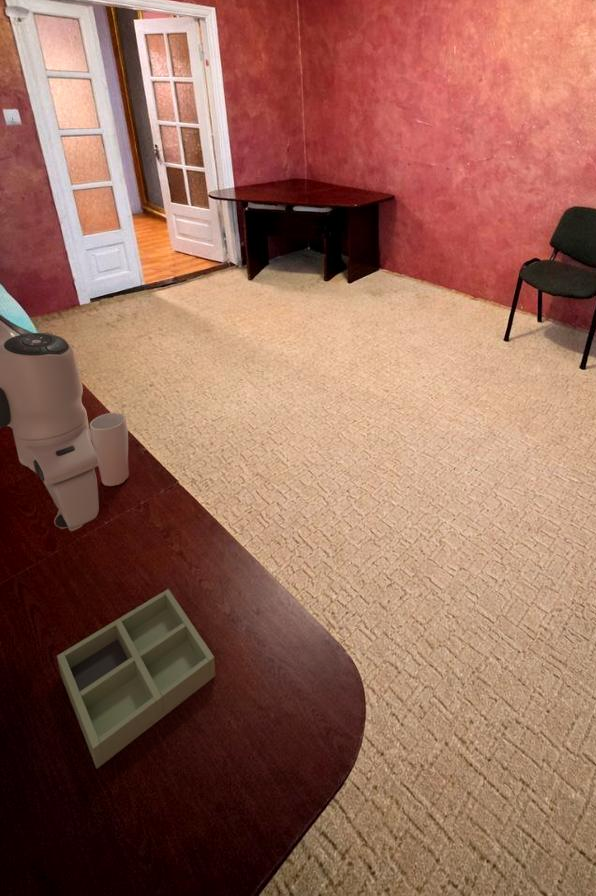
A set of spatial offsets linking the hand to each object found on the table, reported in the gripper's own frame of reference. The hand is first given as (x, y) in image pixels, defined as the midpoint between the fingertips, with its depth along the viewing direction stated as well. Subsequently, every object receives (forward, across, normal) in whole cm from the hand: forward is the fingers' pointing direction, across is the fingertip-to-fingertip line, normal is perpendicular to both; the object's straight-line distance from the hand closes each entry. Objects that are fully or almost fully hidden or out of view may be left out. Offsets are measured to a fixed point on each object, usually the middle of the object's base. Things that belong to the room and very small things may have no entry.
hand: (68, 515), depth 75 cm
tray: (+17, +19, +1) cm, 26 cm away
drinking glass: (+17, -26, +14) cm, 34 cm away
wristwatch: (+2, 0, 0) cm, 2 cm away
